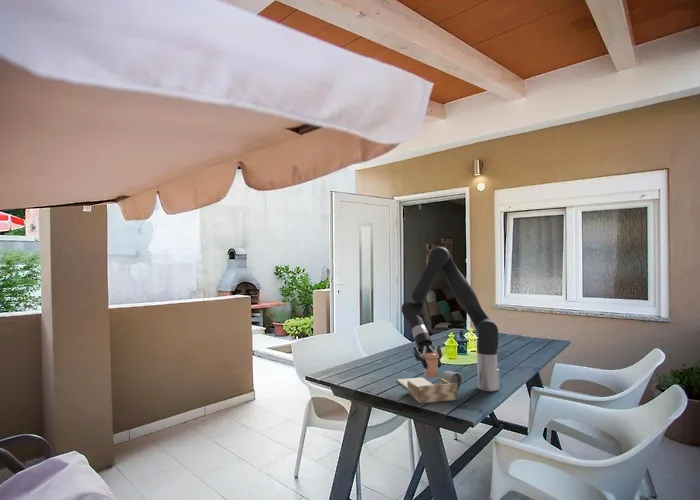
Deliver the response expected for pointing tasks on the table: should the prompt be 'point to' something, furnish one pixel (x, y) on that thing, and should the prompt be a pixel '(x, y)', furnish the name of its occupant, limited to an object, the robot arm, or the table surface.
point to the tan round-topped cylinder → (431, 364)
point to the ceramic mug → (452, 377)
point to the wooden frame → (433, 392)
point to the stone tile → (414, 382)
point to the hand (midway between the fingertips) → (433, 367)
